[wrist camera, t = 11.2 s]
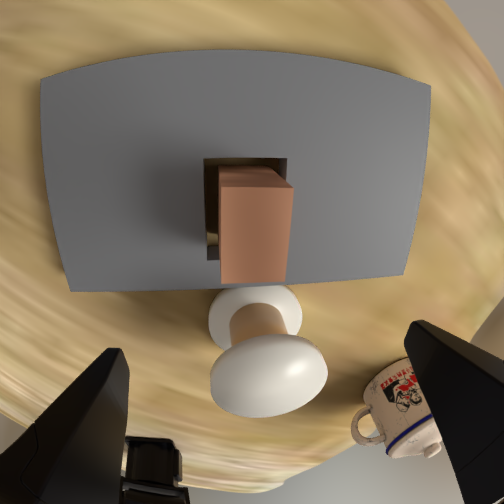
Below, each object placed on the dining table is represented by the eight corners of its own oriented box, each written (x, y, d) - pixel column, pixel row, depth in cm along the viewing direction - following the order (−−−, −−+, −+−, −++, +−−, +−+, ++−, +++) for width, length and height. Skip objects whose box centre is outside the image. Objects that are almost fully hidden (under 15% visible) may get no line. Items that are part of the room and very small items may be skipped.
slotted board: (80, 276, 19) (70, 291, 17) (56, 81, 13) (40, 79, 11) (390, 262, 22) (403, 275, 20) (413, 86, 16) (430, 85, 14)
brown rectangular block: (218, 234, 19) (221, 283, 13) (218, 164, 17) (221, 187, 11) (263, 233, 19) (284, 281, 14) (267, 165, 17) (293, 188, 12)
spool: (211, 350, 23) (215, 421, 17) (205, 279, 20) (205, 351, 14) (294, 344, 24) (316, 409, 18) (303, 274, 21) (338, 339, 15)
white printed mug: (431, 344, 28) (482, 414, 18) (413, 389, 32) (450, 451, 22) (341, 377, 27) (382, 469, 17) (334, 417, 31) (363, 493, 21)
